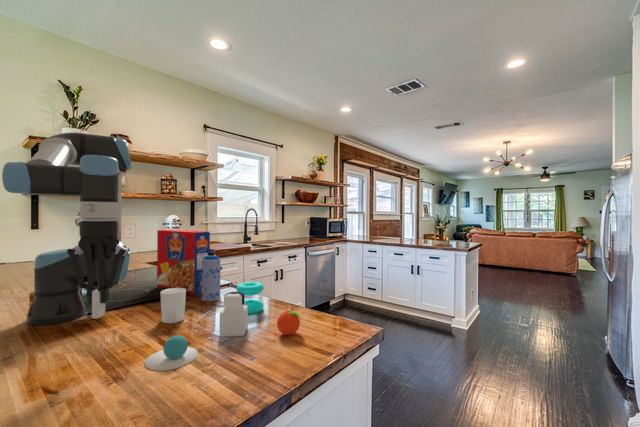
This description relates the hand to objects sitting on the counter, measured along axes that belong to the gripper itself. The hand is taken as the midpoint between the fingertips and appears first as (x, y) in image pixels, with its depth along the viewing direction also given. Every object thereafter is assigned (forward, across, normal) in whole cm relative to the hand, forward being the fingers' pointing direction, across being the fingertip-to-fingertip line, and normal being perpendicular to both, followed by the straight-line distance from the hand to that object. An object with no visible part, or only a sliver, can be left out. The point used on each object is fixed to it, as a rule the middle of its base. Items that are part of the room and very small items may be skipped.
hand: (98, 316), depth 72 cm
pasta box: (+13, -1, +69) cm, 71 cm away
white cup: (+12, +8, +27) cm, 31 cm away
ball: (+8, +18, -1) cm, 20 cm away
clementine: (+11, +47, +10) cm, 50 cm away
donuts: (+12, +33, +34) cm, 49 cm away
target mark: (+11, +17, -1) cm, 20 cm away
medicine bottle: (+11, +30, +14) cm, 35 cm away
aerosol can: (+12, +15, +52) cm, 56 cm away
